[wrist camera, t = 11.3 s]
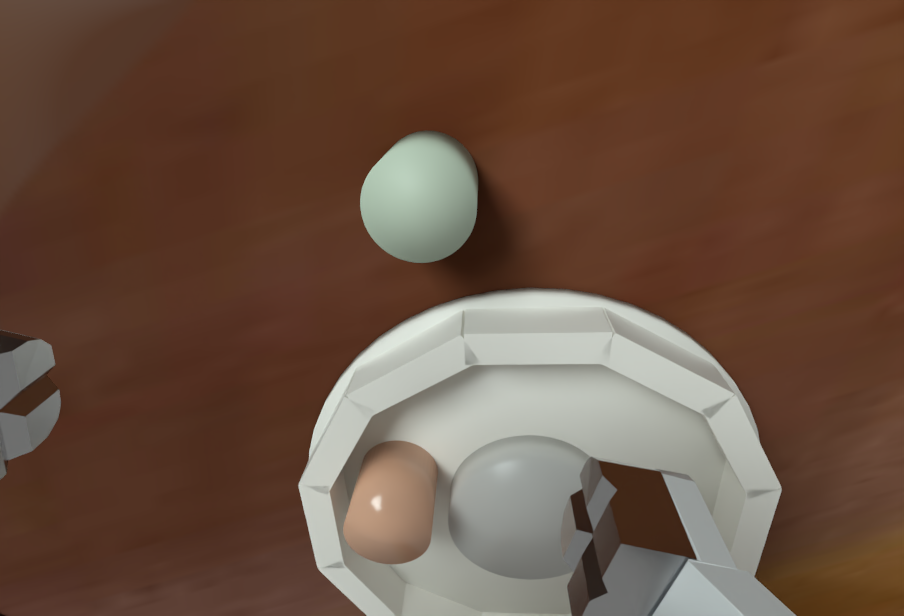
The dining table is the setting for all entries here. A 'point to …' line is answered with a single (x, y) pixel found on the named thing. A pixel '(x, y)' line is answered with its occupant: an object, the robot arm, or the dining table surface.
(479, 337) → the groove tray
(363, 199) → the sage bead
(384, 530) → the terracotta bead
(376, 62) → the dining table surface
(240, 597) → the dining table surface
